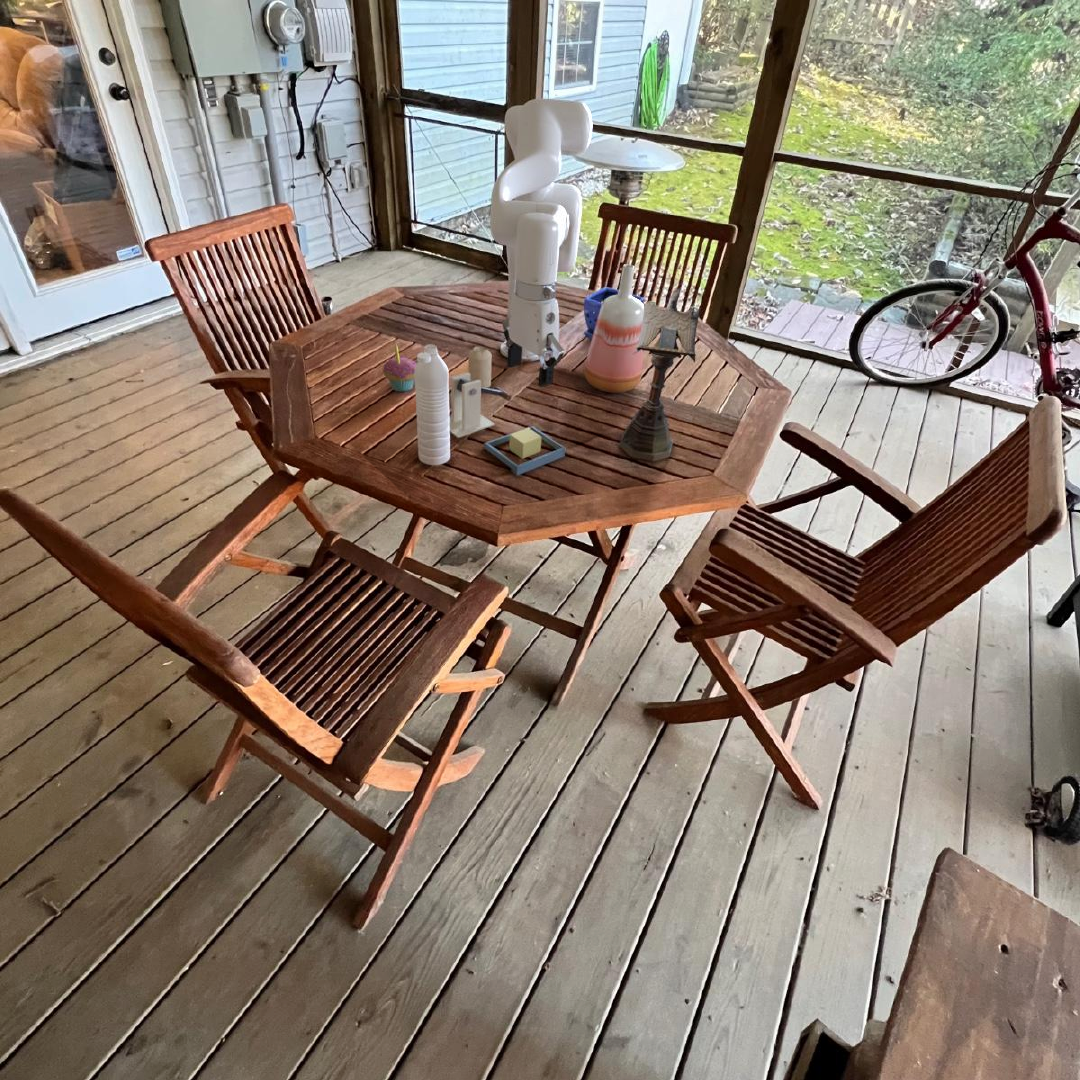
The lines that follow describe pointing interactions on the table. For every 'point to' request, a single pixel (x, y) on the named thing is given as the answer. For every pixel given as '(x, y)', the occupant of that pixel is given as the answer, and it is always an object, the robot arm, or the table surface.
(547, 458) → the dish
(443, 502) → the table surface
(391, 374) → the cupcake
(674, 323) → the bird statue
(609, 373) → the vase
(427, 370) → the water bottle
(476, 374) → the candle
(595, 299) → the flower pot
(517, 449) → the butter
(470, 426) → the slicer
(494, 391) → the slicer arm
